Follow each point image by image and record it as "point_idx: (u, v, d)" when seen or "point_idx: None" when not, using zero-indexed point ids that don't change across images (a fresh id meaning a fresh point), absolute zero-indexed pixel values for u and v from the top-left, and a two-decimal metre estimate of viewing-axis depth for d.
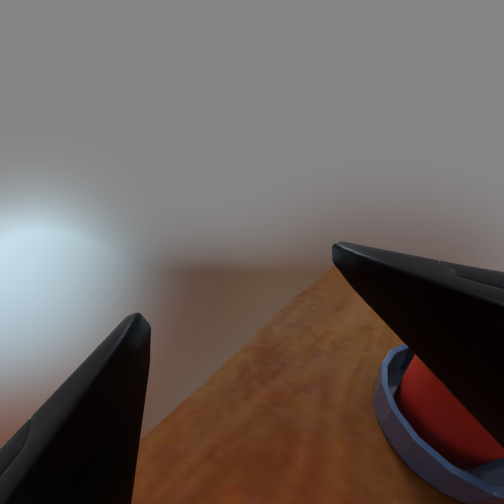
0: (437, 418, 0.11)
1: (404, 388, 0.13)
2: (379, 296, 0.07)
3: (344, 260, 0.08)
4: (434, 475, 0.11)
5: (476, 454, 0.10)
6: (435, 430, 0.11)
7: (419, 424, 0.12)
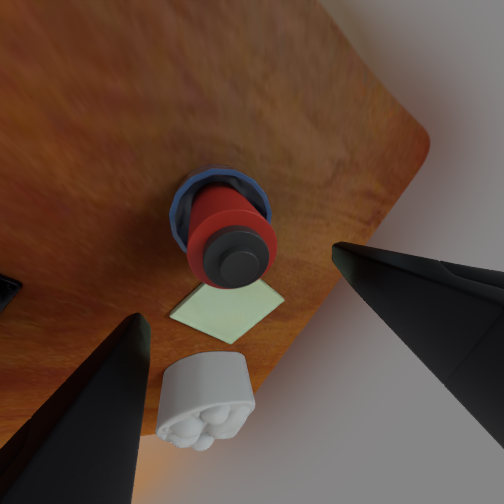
0: (194, 210, 0.12)
1: (218, 189, 0.14)
2: (379, 296, 0.07)
3: (344, 260, 0.08)
4: None
5: None
6: (192, 208, 0.14)
7: (196, 198, 0.14)
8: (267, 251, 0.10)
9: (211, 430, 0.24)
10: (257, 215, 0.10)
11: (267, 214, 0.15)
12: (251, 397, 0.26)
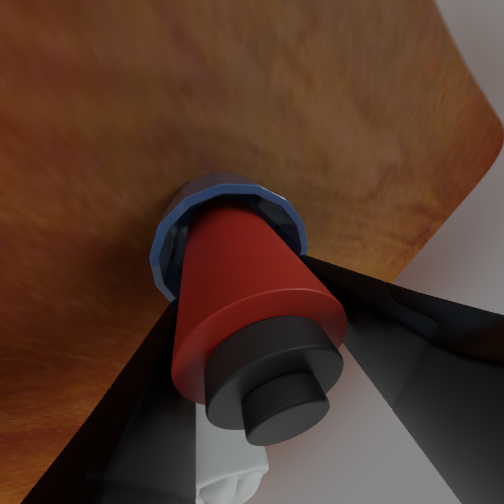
0: (190, 257, 0.07)
1: (229, 215, 0.08)
2: None
3: None
4: None
5: None
6: (187, 245, 0.08)
7: (194, 228, 0.09)
8: (341, 366, 0.05)
9: None
10: (322, 294, 0.04)
11: (302, 248, 0.10)
12: (264, 458, 0.21)
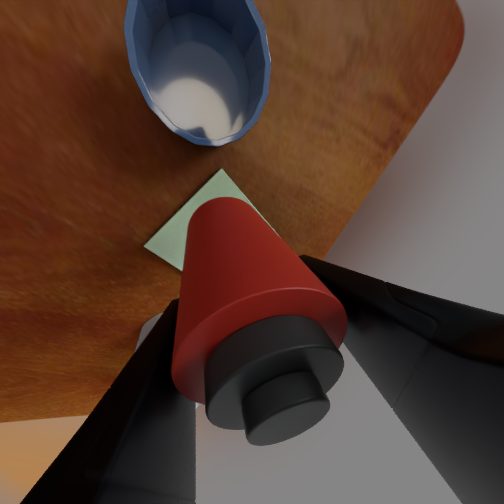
0: (189, 256, 0.07)
1: (229, 215, 0.08)
2: None
3: None
4: None
5: None
6: (188, 245, 0.08)
7: (195, 228, 0.09)
8: (341, 366, 0.05)
9: None
10: (322, 293, 0.04)
11: (266, 63, 0.11)
12: None
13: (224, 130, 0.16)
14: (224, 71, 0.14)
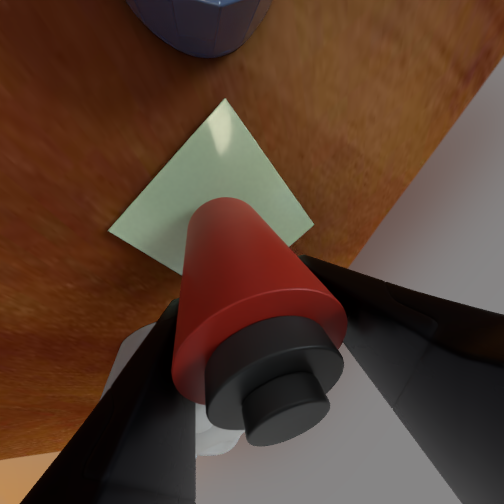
0: (190, 257, 0.07)
1: (229, 216, 0.08)
2: None
3: None
4: None
5: None
6: (188, 246, 0.08)
7: (194, 228, 0.09)
8: (341, 367, 0.05)
9: None
10: (322, 294, 0.04)
11: None
12: None
13: None
14: None
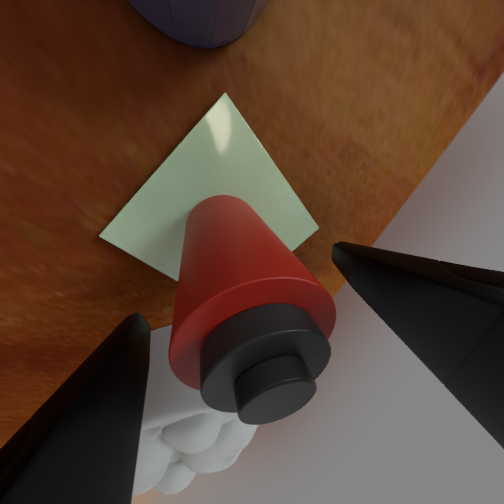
0: (187, 251, 0.07)
1: (225, 212, 0.09)
2: (379, 296, 0.07)
3: (344, 260, 0.08)
4: None
5: None
6: (185, 241, 0.09)
7: (192, 225, 0.09)
8: (328, 352, 0.05)
9: (188, 459, 0.13)
10: (310, 283, 0.05)
11: None
12: None
13: None
14: None
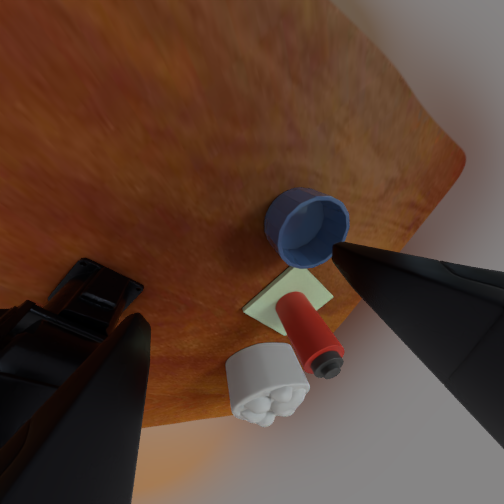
0: (295, 329, 0.23)
1: (303, 310, 0.24)
2: (379, 296, 0.07)
3: (344, 260, 0.08)
4: (272, 221, 0.19)
5: (286, 330, 0.25)
6: (289, 321, 0.24)
7: (289, 313, 0.25)
8: (342, 362, 0.20)
9: (276, 408, 0.29)
10: (338, 346, 0.20)
11: (346, 227, 0.19)
12: (306, 380, 0.30)
13: (304, 241, 0.24)
14: (310, 213, 0.22)
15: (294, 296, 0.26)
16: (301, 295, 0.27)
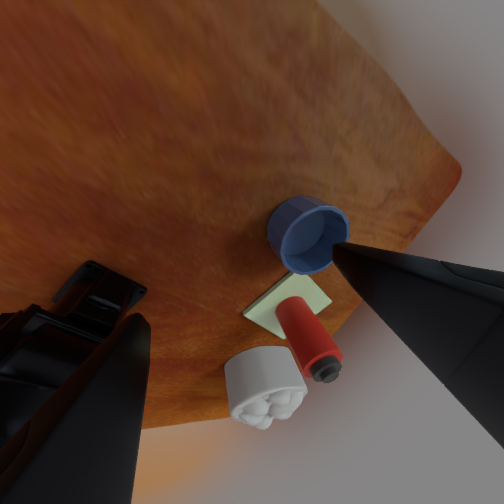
0: (295, 333, 0.23)
1: (303, 315, 0.25)
2: (379, 296, 0.07)
3: (344, 260, 0.08)
4: (275, 228, 0.20)
5: (285, 335, 0.25)
6: (289, 325, 0.25)
7: (289, 317, 0.25)
8: (341, 366, 0.21)
9: (274, 411, 0.29)
10: (337, 351, 0.21)
11: (347, 236, 0.20)
12: (304, 384, 0.31)
13: (305, 247, 0.24)
14: (311, 221, 0.22)
15: (294, 301, 0.27)
16: (301, 300, 0.27)
